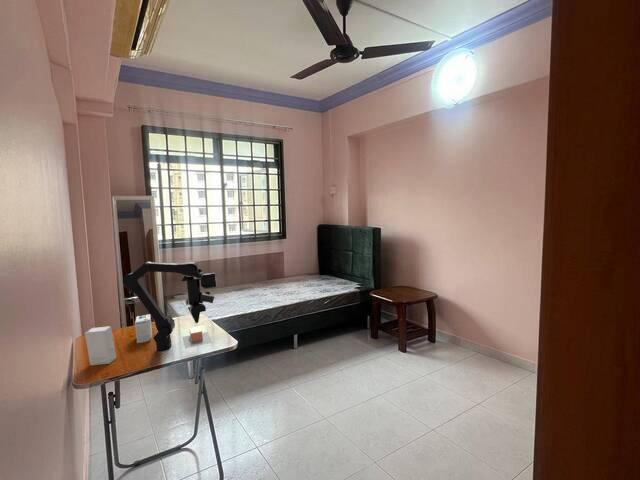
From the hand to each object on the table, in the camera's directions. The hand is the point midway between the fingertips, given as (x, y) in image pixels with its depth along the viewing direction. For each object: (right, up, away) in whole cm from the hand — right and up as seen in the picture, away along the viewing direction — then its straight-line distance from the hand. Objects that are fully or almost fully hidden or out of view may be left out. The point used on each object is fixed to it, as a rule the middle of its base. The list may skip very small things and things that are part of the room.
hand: (196, 322), depth 156 cm
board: (-5, -10, +12) cm, 17 cm away
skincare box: (-37, -15, -10) cm, 41 cm away
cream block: (-2, -8, +5) cm, 9 cm away
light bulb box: (-32, -12, +15) cm, 37 cm away
